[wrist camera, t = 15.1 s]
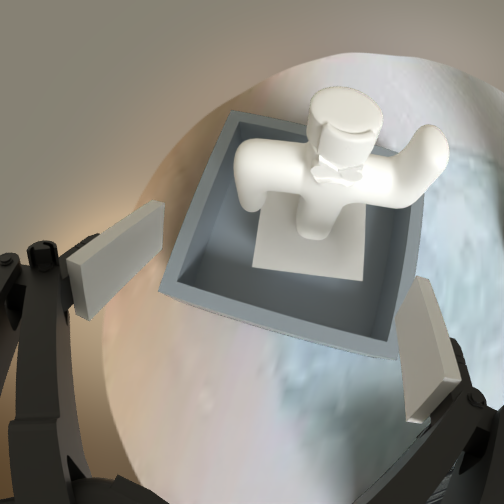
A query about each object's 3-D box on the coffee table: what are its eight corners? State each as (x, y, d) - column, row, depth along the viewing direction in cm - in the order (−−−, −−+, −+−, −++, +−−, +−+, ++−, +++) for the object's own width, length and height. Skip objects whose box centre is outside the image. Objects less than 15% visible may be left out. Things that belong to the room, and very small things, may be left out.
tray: (404, 190, 27) (425, 162, 22) (373, 357, 23) (396, 360, 18) (237, 144, 29) (231, 110, 24) (178, 301, 25) (157, 291, 20)
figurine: (254, 190, 26) (237, 41, 12) (367, 205, 25) (443, 75, 11) (240, 276, 24) (197, 179, 10) (363, 291, 23) (474, 220, 9)
